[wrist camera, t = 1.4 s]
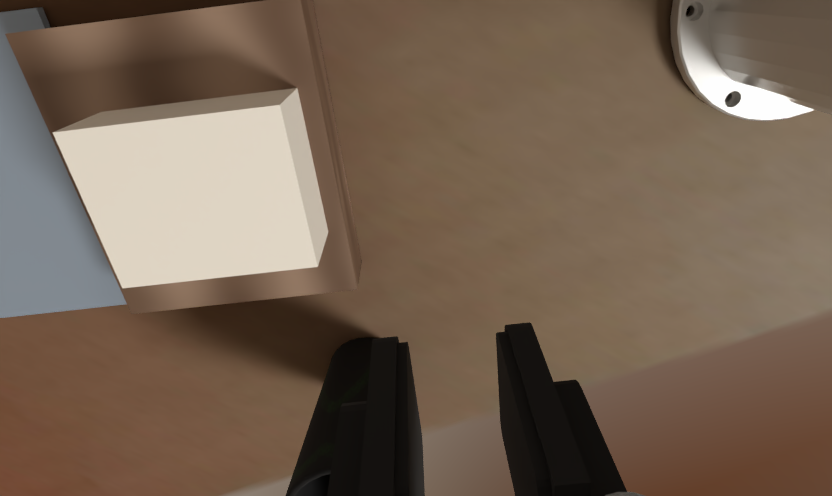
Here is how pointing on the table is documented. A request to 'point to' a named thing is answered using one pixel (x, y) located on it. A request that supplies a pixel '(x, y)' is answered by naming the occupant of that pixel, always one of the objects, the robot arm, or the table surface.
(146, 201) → the cream rectangular block
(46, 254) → the mat
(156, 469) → the table surface
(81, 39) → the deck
